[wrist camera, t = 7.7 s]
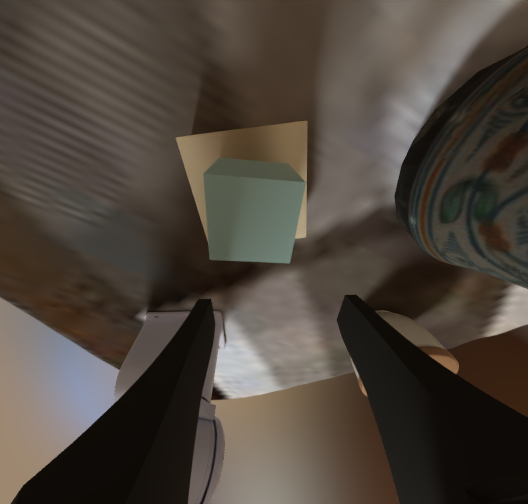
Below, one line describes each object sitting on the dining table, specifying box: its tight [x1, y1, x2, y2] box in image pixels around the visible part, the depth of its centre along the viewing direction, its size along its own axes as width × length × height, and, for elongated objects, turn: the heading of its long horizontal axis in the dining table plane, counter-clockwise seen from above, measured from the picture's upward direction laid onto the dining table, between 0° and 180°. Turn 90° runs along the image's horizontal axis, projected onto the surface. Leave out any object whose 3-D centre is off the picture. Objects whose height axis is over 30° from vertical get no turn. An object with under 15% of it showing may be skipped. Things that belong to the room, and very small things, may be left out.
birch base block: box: [176, 121, 307, 241], centre depth 16 cm, size 8×8×4 cm
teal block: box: [203, 157, 306, 263], centre depth 12 cm, size 4×4×5 cm
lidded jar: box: [350, 310, 459, 397], centre depth 25 cm, size 11×11×9 cm
